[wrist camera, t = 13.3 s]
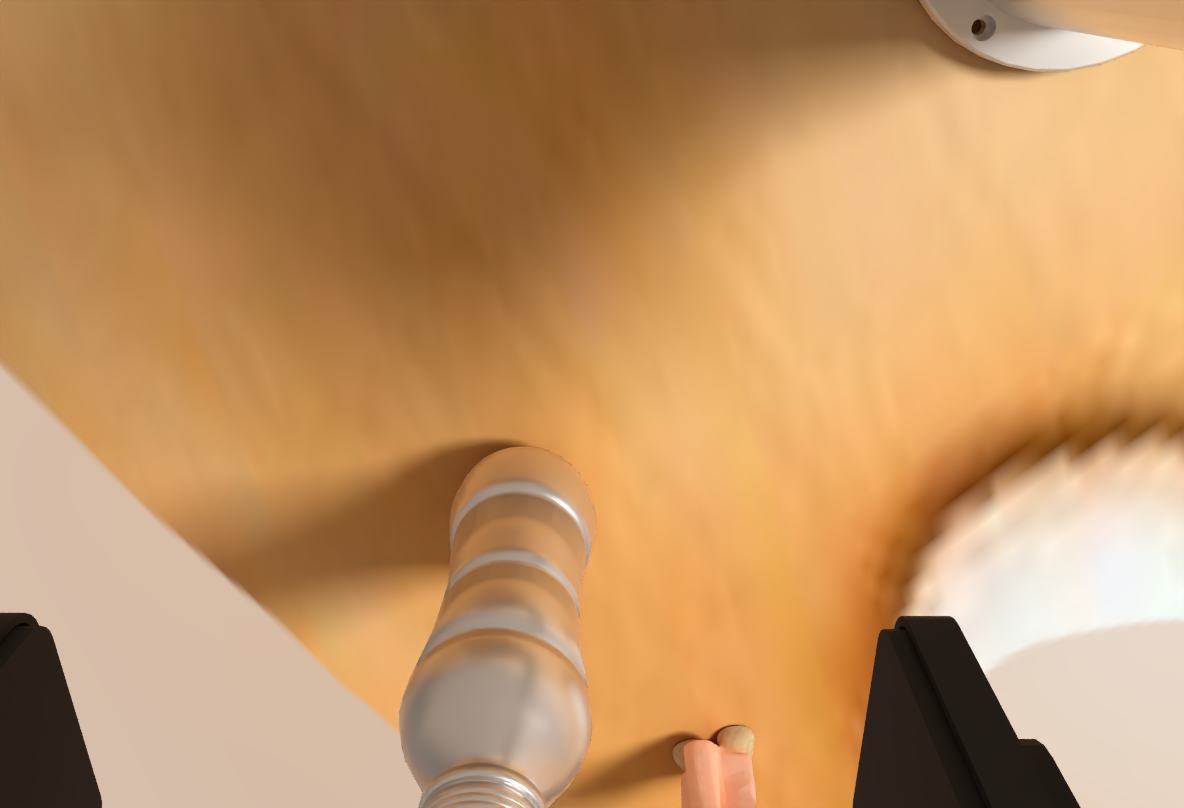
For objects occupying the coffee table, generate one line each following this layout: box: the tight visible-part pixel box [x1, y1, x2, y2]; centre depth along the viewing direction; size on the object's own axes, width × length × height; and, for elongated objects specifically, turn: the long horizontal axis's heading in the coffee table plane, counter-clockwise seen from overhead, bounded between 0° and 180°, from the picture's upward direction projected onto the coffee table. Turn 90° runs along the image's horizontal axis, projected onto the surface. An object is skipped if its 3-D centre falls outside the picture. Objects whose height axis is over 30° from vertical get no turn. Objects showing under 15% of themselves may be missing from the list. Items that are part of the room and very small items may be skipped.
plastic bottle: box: [399, 446, 597, 808], centre depth 36 cm, size 6×7×20 cm
